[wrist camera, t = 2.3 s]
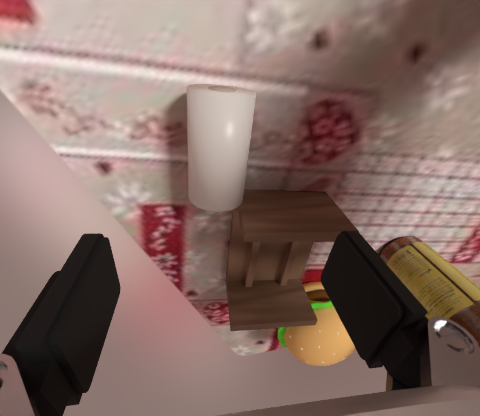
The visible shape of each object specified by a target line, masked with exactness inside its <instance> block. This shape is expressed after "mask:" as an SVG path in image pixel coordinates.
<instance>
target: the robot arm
mask: <svg viewBox="0 0 480 416" xmlns="http://www.w3.org/2000/svg"><path fill="white" fill-rule="evenodd" d="M321 283H322V285H323V287H324V289H325V291H326V293H327V295H328V297H329V299H330V301H331V302H332V304H333V306H334V308H335V310H336V312H337V314H338V316H339V318H340V320H341V321H342V323H343V325H344V327H345V329H346V331H347V333H348V335H349V337H350V339H351V340H352V342H353V344H354V346H355V348H356V350H357V352H358V354H359V355H360V357H361V358H362V359H363V360H365V361H366V363H367V365H368V367H369V368H377V367H382V366H383V365H384V367H385V368H386V370H387V381H386V392H379V393H372V394H364V395H357V396H350V397H343V398H335V399H328V400H321V401H315V402H307V403H300V404H293V405H286V406H279V407H272V408H265V409H258V410H252V411H244V412H237V413H230V414H224V415H218V416H480V347H479V345H478V343H477V341H476V340H475V339H474V337H473V336H472V335H471V334H470V333H469V332H468V331H467V330H466V329H465V328H463V327H462V326H460V325H459V324H458V323H456V322H454V321H452V320H450V319H447V318H444V317H439V316H435V317H431V318H430V319H429V320H428V318H427V317H426V316H425V315H426V314H427V313H428V311H427V310H426V309H425V308H424V307H423V305H422V304H421V303H420V302H419V301H418V300H417V299H416V297H415V296H414V295H413V294H412V293H411V292H410V291H409V289H408V288H407V287H406V286H405V285H404V284H403V283H402V281H401V280H400V279H399V278H398V277H397V276H396V275H395V273H394V272H393V271H392V270H391V269H390V268H389V267H388V265H387V264H386V263H385V262H384V261H383V260H382V259H381V257H380V256H379V255H378V254H377V253H376V252H375V251H374V249H373V248H372V247H371V246H370V245H369V244H368V243H367V241H366V240H365V239H364V238H363V237H362V236H361V235H360V233H359V232H357V231H342V232H341V233H340V234H339V235H337V237H336V240H335V242H334V245H333V247H332V250H331V252H330V255H329V257H328V260H327V262H326V265H325V267H324V270H323V272H322V275H321ZM119 294H120V283H119V279H118V275H117V271H116V267H115V262H114V258H113V254H112V250H111V246H110V242H109V239H108V238H107V237H104V236H103V235H102V234H83V235H82V237H81V238H80V240H79V241H78V243H77V245H76V246H75V248H74V250H73V251H72V253H71V254H70V256H69V258H68V259H67V261H66V263H65V264H64V266H63V268H62V269H61V271H57V272H55V273H54V274H53V275H52V276H51V277H50V279H49V281H48V282H47V284H46V285H45V287H44V288H43V290H42V292H41V293H40V295H39V296H38V298H37V299H36V301H35V303H34V304H33V306H32V307H31V309H30V310H29V312H28V313H27V315H26V317H25V318H24V319H23V321H22V323H21V324H20V326H19V327H18V329H17V330H16V332H15V334H14V335H13V337H12V338H11V340H10V341H9V343H8V344H7V346H6V347H5V349H4V351H3V352H2V354H0V416H63V413H64V410H65V408H66V406H69V405H76V404H79V402H80V399H81V396H82V393H86V392H87V391H88V390H89V388H90V385H91V382H92V379H93V376H94V373H95V370H96V367H97V364H98V361H99V357H100V354H101V351H102V348H103V345H104V342H105V339H106V335H107V332H108V329H109V326H110V323H111V320H112V317H113V313H114V310H115V307H116V304H117V301H118V298H119Z"/></svg>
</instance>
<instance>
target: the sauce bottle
mask: <svg viewBox="0 0 480 416" xmlns="http://www.w3.org/2000/svg"><path fill="white" fill-rule="evenodd" d="M380 257H381V259H382V260H383V261H384V262H385V263H386V264H387V265H388V267H389V268H390V269H391V270H392V271H393V272H394V273H395V275H396V276H397V277H398V278H399V279H400V280H401V281H402V283H403V284H404V285H405V286H406V287H407V288H408V289H409V291H410V292H411V293H412V294H413V295H414V296H415V297H416V299H417V300H418V301H419V302H420V303H421V304H422V305H423V307H424V308H425V309H426V310H427V311H428V313H427V314H426V315H425V316H426V317H427V318H428V320H429V319H430V318H431V317H435V316H439V317H444V318H447V319H450V320H452V321H454V322H456V323H458V324H459V325H460V326H462V327H463V328H465V329H466V330H467V331H468V332H469V333H470V334H471V335H472V336H473V337H474V339H475V340H476V341H477V343H478V345H479V347H480V288H479V287H478V286H477V285H476V284H475V283H473V282H472V281H471V280H470V279H468V278H467V277H466V276H465V275H464V274H462V273H461V272H460V271H459V270H458V269H456V268H455V267H454V266H453V265H451V264H450V263H449V262H448V261H447V260H445V259H444V258H443V257H442V256H441V255H439V254H438V253H437V252H436V251H434V250H433V249H432V248H431V247H430V246H428V245H427V244H425V243H423V242H422V241H421V240H420V239H418V238H416V237H411V236H410V237H402V238H398V239H396V240H394V241H393V242H391V243H389V244H388V245H387V246H386V247H385V248H384V249H383V250H382V251H381V254H380Z"/></svg>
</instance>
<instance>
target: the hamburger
mask: <svg viewBox="0 0 480 416" xmlns="http://www.w3.org/2000/svg"><path fill="white" fill-rule="evenodd" d="M303 287H304V289H305V291H306V294H307V296H308V298H309V301H310V303H311V306H312V308H313V310H314V313H315V315H316V317H317V320H318V321H317V323H316V325H311V326H297V327H283V328H278V340H279V341H280V343H281V345H282V346H283V347H287V348H288V350H289V351H290V352H291V353H292V354H293V355H294V356H295V358H297V359H298V360H300V361H302V362H305V363H307V364H309V365H314V366H323V365H327V366H328V365H332V364H335V363H337V362H339V361H341V360H344V359H345V358H346V357H347V356H349V355H350V354H351V353H352V352H353V351H354V349H355V346H354V344H353V342H352V340H351V339H350V337H349V335H348V333H347V331H346V329H345V327H344V325H343V323H342V321H341V320H340V318H339V316H338V314H337V312H336V310H335V308H334V306H333V304H332V302H331V301H330V299H329V297H328V295H327V293H326V291H325V289H324V287H323V285H322V283H321V282H309V283H305V284H303Z"/></svg>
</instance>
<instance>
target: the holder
mask: <svg viewBox="0 0 480 416" xmlns="http://www.w3.org/2000/svg"><path fill="white" fill-rule="evenodd" d="M342 231H357V232H359V231H358V230H357V229H356V228H355V227H354V225H353V224H352V223H351V222H350V221H349V219H348V218H347V217H346V216H345V215H344V214H343V212H342V211H341V210H340V209H339V208H338V206H337V205H336V204H335V203H334V202H333V200H332V199H331V198H330V197H329V196H328V195H327V193H326V192H312V191H273V190H244V195H243V201H242V203H241V205H240V206H239V207H237V208H235V209H233V215H232V225H231V234H230V244H229V253H228V263H227V273H226V289H227V299H228V308H229V318H230V328H231V331H240V330H254V329H268V328H283V327H297V326H311V325H316V323H317V321H318V320H317V317H316V315H315V313H314V310H313V308H312V306H311V303H310V301H309V298H308V296H307V294H306V291H305V289H304V287H303V284H302V282H301V279H300V278H301V275H302V273H303V270H304V267H305V264H306V261H307V258H308V256H309V253H310V250H311V247H312V244H313V242H321V241H335V240H336V237H337V235H339V234H340V233H341V232H342Z"/></svg>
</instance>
